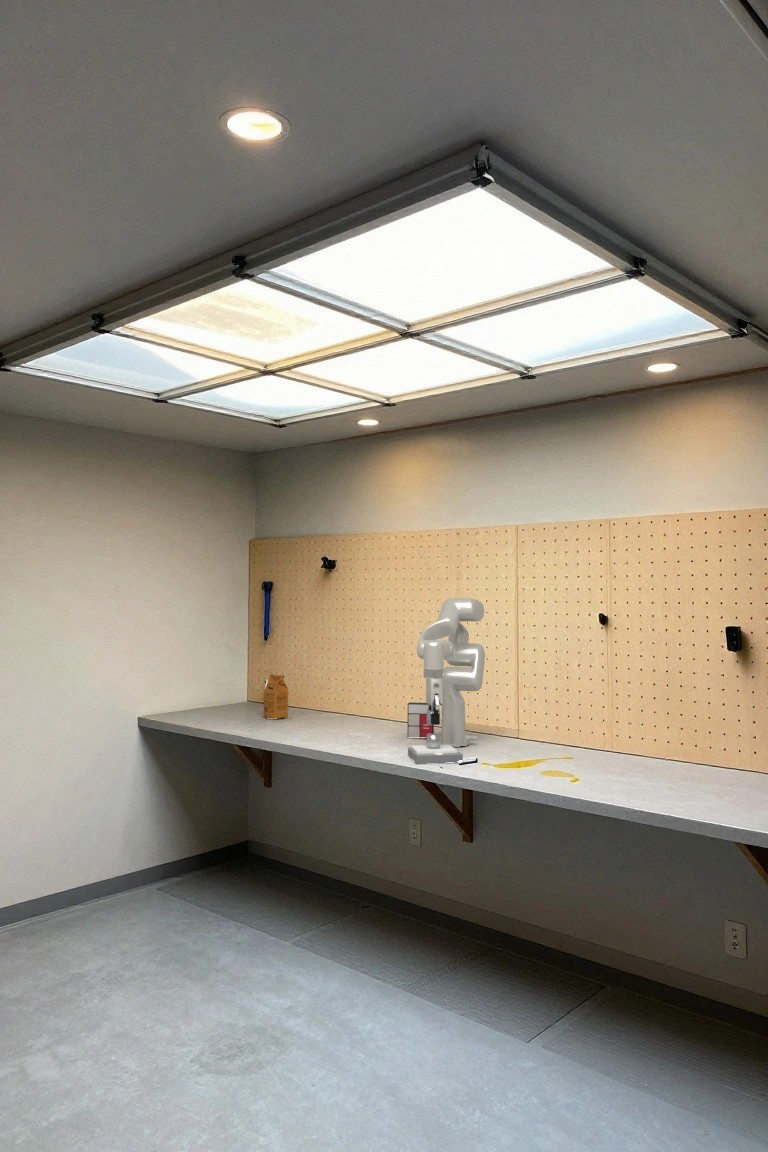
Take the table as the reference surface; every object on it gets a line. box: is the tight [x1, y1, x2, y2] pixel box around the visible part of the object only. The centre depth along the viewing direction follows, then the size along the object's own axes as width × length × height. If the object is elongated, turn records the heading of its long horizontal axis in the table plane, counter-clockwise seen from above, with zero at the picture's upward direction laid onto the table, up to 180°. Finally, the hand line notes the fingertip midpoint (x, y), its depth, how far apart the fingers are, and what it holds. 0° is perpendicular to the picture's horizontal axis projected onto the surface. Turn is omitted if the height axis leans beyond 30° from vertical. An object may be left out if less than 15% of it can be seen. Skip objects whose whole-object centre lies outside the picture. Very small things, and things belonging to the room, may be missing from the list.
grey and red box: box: [407, 701, 435, 738], centre depth 352 cm, size 11×4×15 cm, turn 80°
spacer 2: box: [426, 732, 441, 749], centre depth 307 cm, size 5×5×5 cm
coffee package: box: [263, 673, 289, 719], centre depth 413 cm, size 10×12×22 cm
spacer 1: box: [427, 709, 441, 726], centre depth 307 cm, size 5×5×5 cm
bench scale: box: [407, 744, 464, 765], centre depth 305 cm, size 17×17×4 cm
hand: (433, 722), depth 307 cm, fingers closed on spacer 1, 5 cm apart
